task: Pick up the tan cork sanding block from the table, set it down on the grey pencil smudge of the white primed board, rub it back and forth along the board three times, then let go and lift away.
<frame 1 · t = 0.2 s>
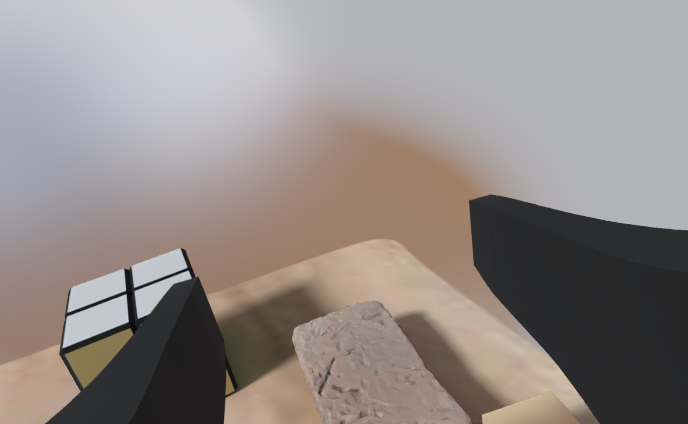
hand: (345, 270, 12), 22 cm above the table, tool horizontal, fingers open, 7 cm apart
brick: (375, 416, 34), on the table
puzzle cube: (172, 384, 41), on the table
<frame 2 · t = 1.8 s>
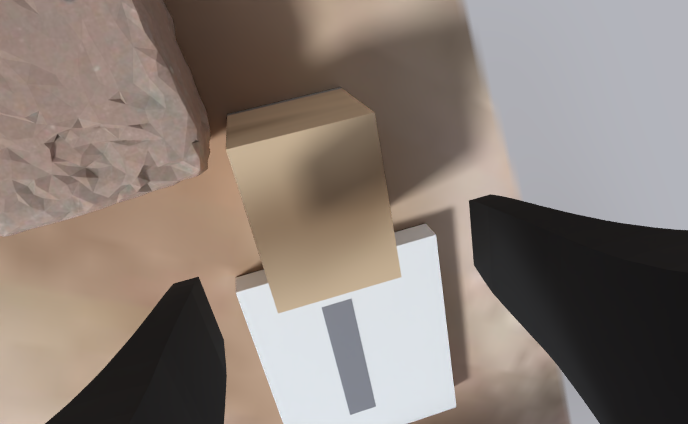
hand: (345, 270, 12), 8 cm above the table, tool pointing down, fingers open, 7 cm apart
sanding block: (301, 170, 19), on the table
board: (354, 341, 23), on the table
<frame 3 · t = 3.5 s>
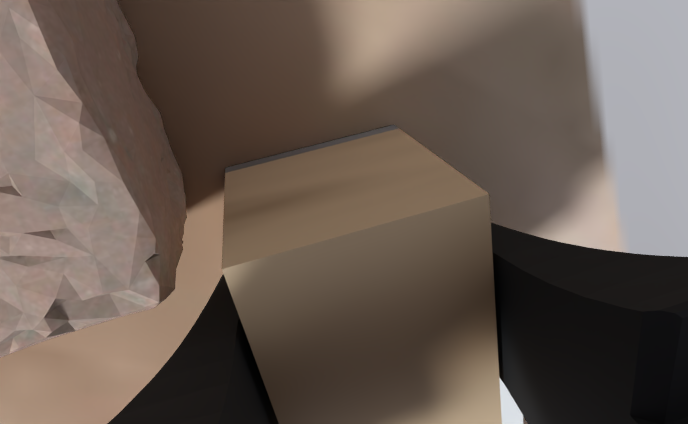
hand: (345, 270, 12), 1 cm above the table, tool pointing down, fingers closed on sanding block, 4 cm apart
sanding block: (334, 244, 13), on the table, touching gripper
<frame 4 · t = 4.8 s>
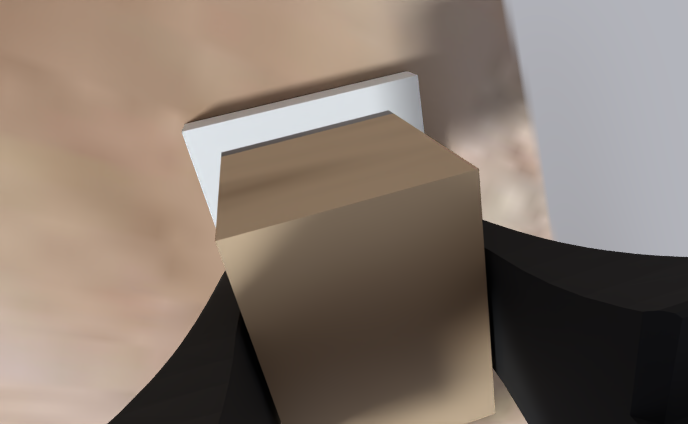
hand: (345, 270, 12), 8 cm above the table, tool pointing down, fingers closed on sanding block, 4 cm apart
sanding block: (330, 230, 13), point 7 cm above the table, touching gripper
board: (327, 218, 21), on the table
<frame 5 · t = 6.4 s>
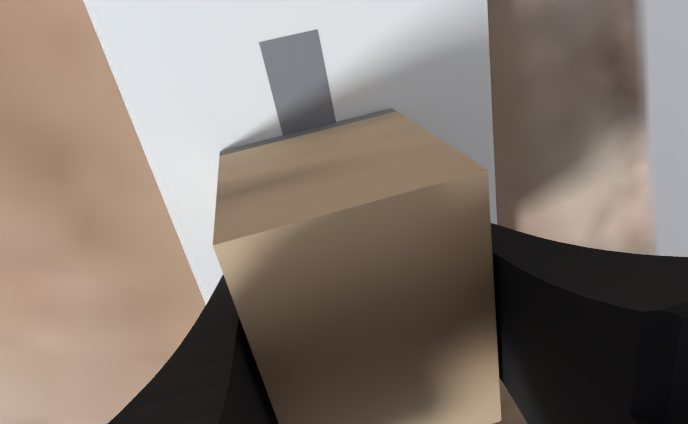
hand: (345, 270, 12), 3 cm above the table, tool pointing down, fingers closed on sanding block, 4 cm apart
sanding block: (331, 231, 13), point 1 cm above the table, touching gripper
board: (329, 155, 13), on the table
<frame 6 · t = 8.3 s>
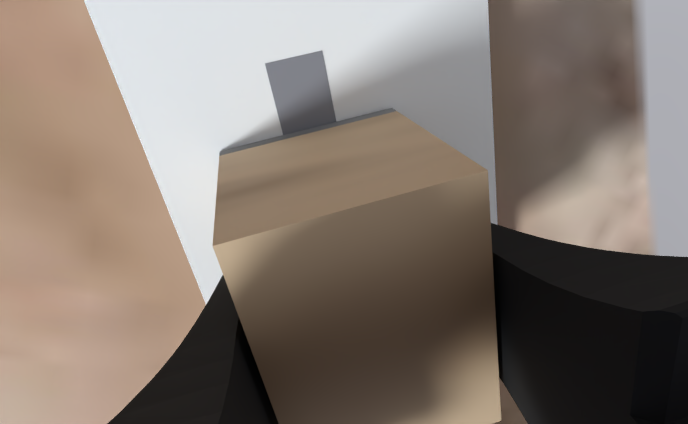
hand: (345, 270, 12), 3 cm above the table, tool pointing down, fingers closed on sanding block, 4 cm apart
sanding block: (331, 230, 13), point 1 cm above the table, touching gripper
board: (332, 170, 14), on the table
when the fingers open (3 cm above the table, at t = 9.5 s): sanding block stays where it is, resting on board.
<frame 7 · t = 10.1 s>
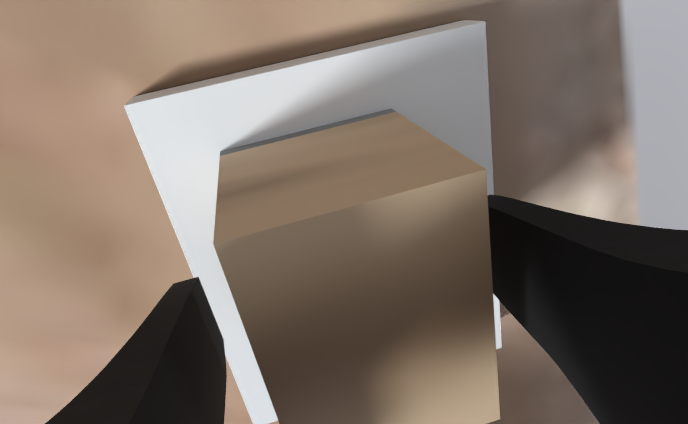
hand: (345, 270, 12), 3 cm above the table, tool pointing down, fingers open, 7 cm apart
sanding block: (331, 230, 13), point 1 cm above the table, touching board
board: (344, 234, 15), on the table
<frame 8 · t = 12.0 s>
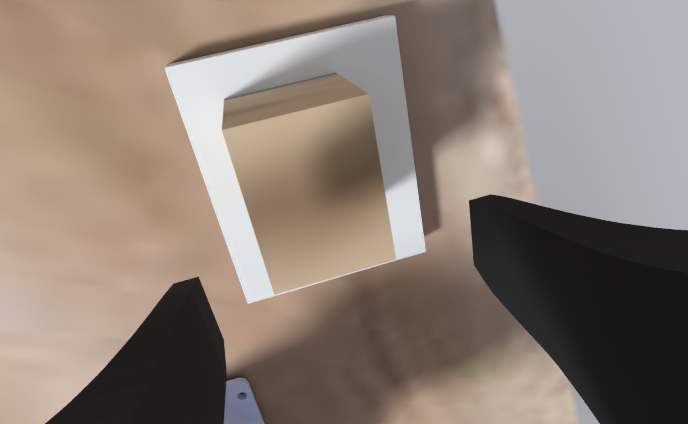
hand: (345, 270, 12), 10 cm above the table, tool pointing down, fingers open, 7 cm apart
sanding block: (298, 156, 19), point 1 cm above the table, touching board
board: (310, 164, 21), on the table
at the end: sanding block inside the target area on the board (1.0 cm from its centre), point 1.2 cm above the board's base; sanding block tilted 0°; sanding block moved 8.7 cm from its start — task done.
